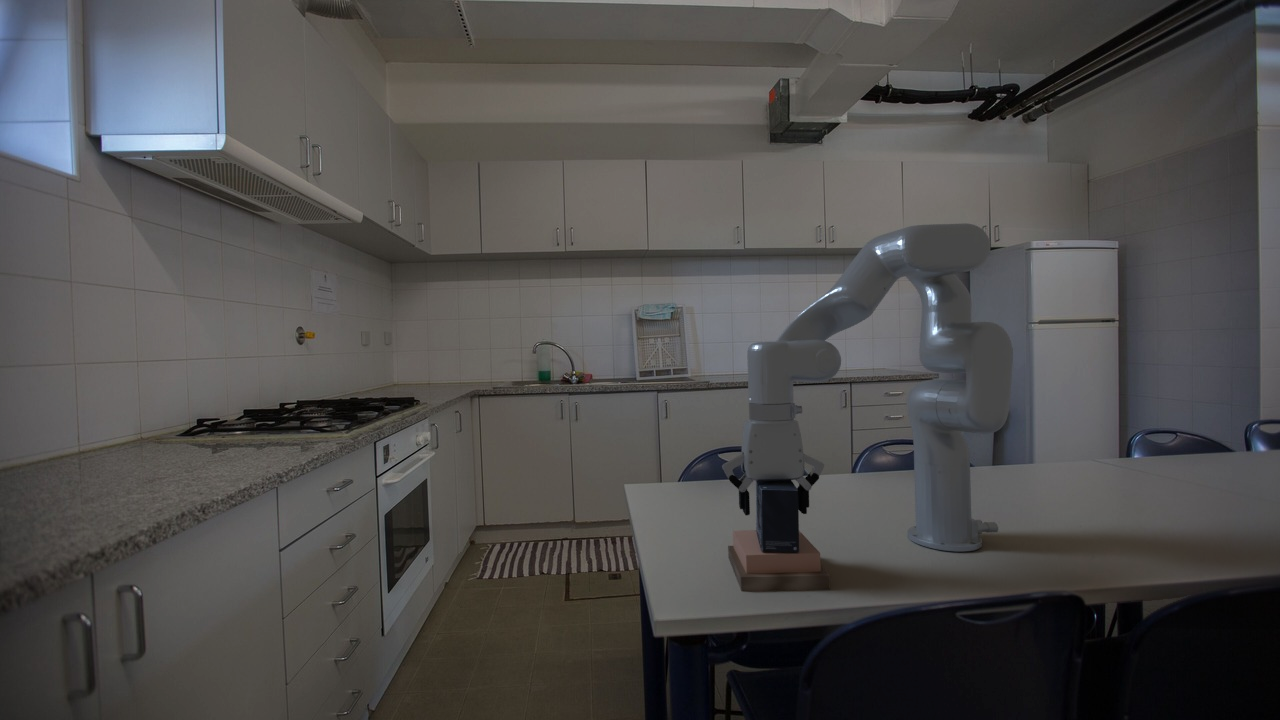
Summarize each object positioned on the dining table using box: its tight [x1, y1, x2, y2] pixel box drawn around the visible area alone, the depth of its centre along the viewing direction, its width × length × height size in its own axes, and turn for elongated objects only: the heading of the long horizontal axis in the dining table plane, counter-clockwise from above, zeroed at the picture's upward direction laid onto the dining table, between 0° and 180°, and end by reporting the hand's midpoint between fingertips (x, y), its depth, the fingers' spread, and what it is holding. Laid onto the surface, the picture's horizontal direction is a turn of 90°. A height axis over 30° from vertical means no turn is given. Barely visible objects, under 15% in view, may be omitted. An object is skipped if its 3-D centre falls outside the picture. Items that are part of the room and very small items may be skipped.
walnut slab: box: [727, 545, 831, 592], centre depth 90 cm, size 14×14×3 cm
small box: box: [755, 480, 800, 553], centre depth 89 cm, size 11×6×10 cm, turn 172°
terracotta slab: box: [732, 529, 822, 574], centre depth 90 cm, size 12×12×3 cm
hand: (774, 512), depth 90 cm, fingers open, 9 cm apart
